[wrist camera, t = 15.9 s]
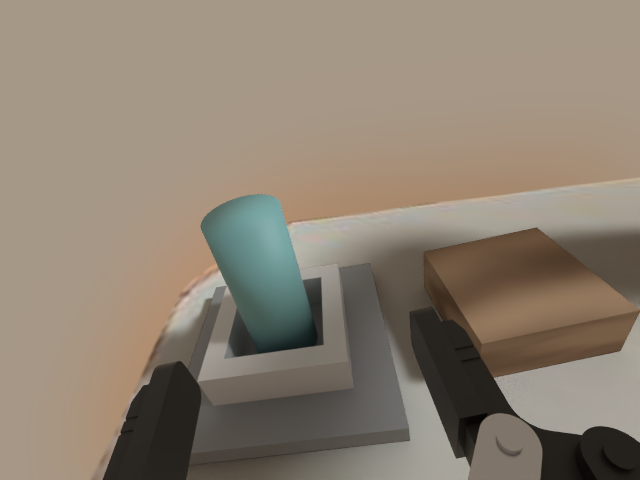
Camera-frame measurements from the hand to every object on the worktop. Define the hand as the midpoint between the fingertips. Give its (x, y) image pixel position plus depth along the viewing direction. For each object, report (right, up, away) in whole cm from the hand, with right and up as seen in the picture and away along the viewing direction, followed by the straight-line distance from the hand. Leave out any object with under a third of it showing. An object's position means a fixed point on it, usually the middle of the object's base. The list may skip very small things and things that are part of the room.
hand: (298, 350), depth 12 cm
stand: (+16, -2, +16) cm, 22 cm away
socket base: (-2, -5, +17) cm, 18 cm away
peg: (-2, -4, +16) cm, 16 cm away
